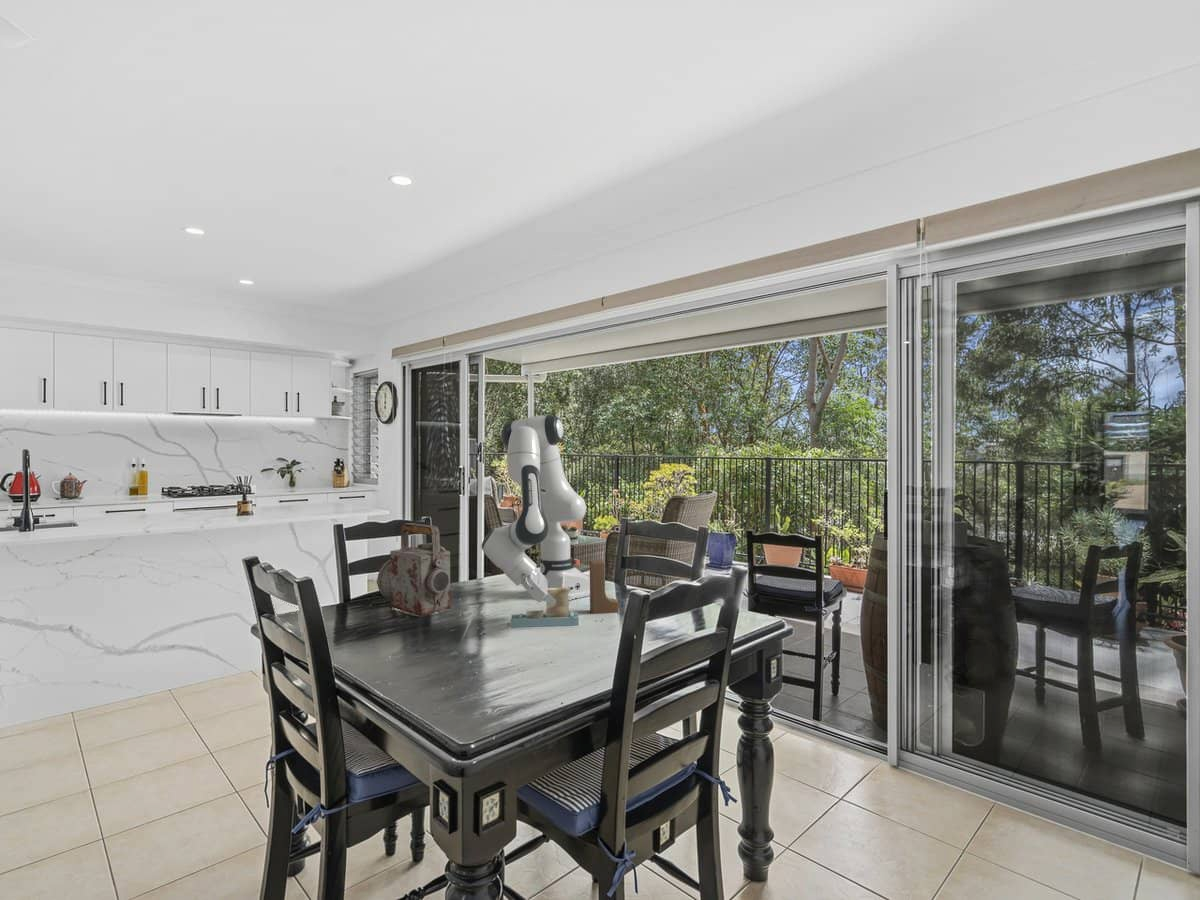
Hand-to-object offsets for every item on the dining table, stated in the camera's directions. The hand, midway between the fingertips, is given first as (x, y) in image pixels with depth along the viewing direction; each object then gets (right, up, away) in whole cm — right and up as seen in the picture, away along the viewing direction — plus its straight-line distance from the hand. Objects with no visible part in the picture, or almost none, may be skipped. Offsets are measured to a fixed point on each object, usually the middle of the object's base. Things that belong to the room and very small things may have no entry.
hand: (554, 601), depth 200 cm
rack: (-3, -8, 0) cm, 9 cm away
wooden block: (+16, -8, +14) cm, 23 cm away
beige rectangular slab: (+1, -7, 0) cm, 7 cm away
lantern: (-50, -8, +22) cm, 55 cm away
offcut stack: (-7, -7, 0) cm, 10 cm away
